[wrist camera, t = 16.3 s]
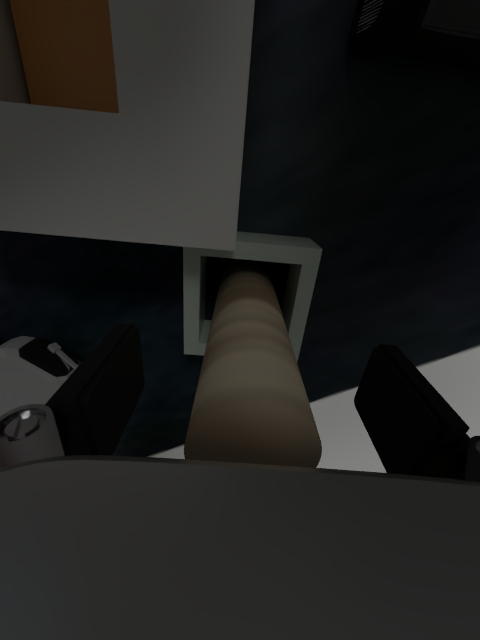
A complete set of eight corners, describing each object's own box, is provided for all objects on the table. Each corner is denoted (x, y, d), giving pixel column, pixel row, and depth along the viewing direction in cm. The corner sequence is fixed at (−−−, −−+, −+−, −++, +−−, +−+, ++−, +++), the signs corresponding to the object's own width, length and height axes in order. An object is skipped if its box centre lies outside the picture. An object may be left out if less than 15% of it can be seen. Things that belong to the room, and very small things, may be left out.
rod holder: (192, 227, 18) (183, 236, 15) (309, 237, 19) (322, 249, 16) (192, 329, 22) (184, 354, 19) (289, 337, 22) (297, 362, 19)
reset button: (32, -19, 13) (-2, -52, 11) (142, -6, 13) (127, -35, 11) (56, 116, 15) (32, 107, 13) (149, 125, 15) (137, 118, 14)
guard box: (-133, -225, 11) (-505, -628, 5) (268, -167, 11) (292, -483, 6) (-4, 209, 18) (-108, 220, 13) (236, 231, 18) (234, 251, 13)
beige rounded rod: (221, 259, 19) (183, 398, 7) (276, 264, 20) (337, 409, 7) (218, 310, 21) (184, 492, 9) (268, 314, 21) (306, 499, 9)
